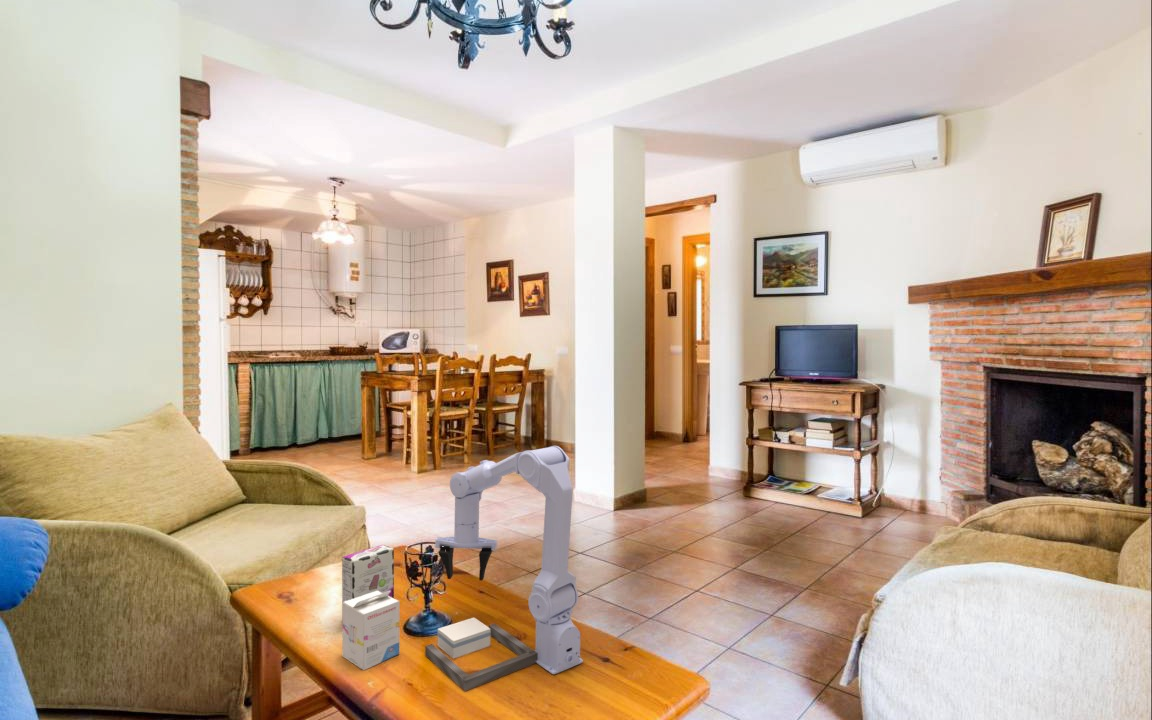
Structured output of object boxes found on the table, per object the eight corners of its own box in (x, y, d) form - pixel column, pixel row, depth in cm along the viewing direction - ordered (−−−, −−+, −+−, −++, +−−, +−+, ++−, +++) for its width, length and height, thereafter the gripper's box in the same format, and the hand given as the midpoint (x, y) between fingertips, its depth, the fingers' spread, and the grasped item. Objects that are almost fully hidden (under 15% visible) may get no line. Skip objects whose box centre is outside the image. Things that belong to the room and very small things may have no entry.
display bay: (537, 662, 126) (537, 653, 126) (464, 691, 115) (465, 680, 115) (494, 632, 139) (494, 623, 139) (425, 655, 128) (425, 645, 128)
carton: (490, 646, 132) (490, 628, 132) (453, 660, 127) (453, 641, 127) (473, 634, 138) (474, 617, 138) (437, 646, 132) (437, 628, 132)
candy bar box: (382, 609, 149) (382, 543, 149) (394, 615, 146) (395, 548, 146) (340, 626, 140) (341, 555, 140) (352, 632, 137) (353, 560, 137)
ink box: (377, 641, 133) (378, 581, 133) (400, 654, 128) (401, 591, 128) (341, 657, 127) (341, 593, 126) (363, 671, 121) (364, 605, 121)
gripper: (500, 518, 148) (499, 573, 148) (441, 515, 149) (440, 570, 149) (494, 526, 141) (493, 584, 141) (433, 524, 142) (432, 581, 142)
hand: (465, 578), depth 145 cm, fingers open, 7 cm apart
